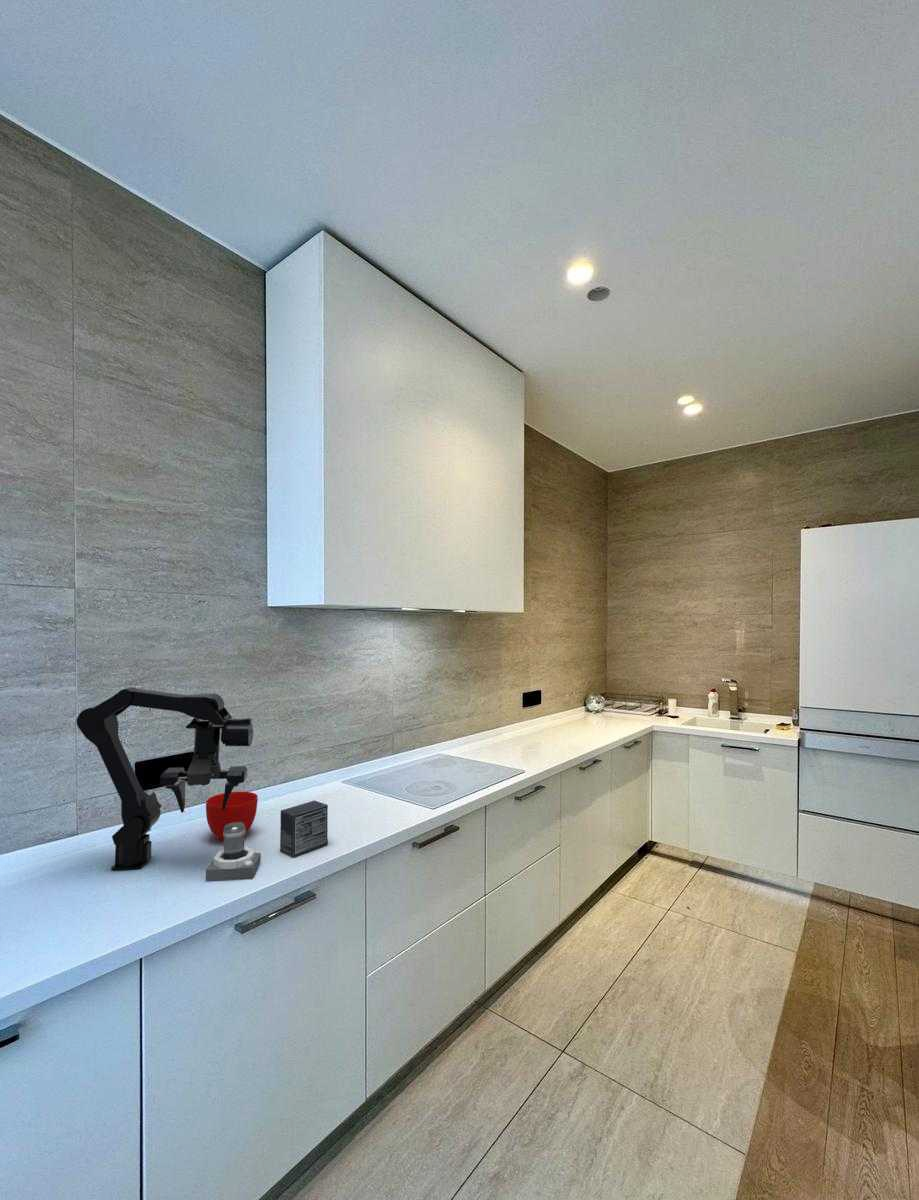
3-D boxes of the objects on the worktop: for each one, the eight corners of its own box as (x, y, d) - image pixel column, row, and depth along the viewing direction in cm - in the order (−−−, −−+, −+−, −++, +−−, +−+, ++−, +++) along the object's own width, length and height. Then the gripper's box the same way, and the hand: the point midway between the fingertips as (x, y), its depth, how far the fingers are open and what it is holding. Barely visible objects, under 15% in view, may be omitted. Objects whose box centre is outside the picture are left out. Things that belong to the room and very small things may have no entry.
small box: (313, 838, 145) (314, 799, 145) (328, 845, 141) (329, 804, 141) (278, 851, 137) (279, 809, 137) (293, 858, 133) (294, 815, 133)
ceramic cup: (272, 823, 156) (273, 788, 156) (241, 847, 139) (242, 807, 139) (229, 821, 157) (230, 786, 158) (194, 844, 140) (195, 805, 141)
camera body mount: (205, 881, 120) (205, 863, 120) (216, 865, 128) (217, 848, 129) (252, 879, 122) (252, 860, 122) (260, 863, 130) (260, 846, 130)
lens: (234, 866, 122) (234, 831, 122) (218, 863, 124) (218, 827, 124) (249, 858, 126) (249, 823, 127) (233, 854, 128) (234, 820, 128)
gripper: (154, 754, 122) (149, 825, 122) (241, 753, 127) (238, 821, 126) (169, 744, 133) (165, 808, 133) (249, 743, 137) (245, 805, 137)
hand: (203, 811), depth 132 cm, fingers open, 9 cm apart
